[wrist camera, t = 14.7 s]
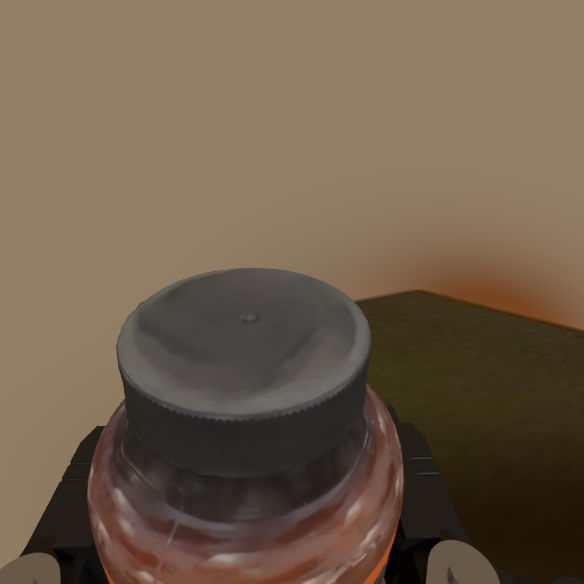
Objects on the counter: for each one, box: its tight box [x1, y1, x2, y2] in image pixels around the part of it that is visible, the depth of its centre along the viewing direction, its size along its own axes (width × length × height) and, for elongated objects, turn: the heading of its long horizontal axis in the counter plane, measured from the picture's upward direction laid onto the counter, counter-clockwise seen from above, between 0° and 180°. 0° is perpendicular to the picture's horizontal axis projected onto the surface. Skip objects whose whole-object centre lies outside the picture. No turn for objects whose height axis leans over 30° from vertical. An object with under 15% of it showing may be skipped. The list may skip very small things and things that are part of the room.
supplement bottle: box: [87, 268, 404, 584], centre depth 9 cm, size 6×6×11 cm
